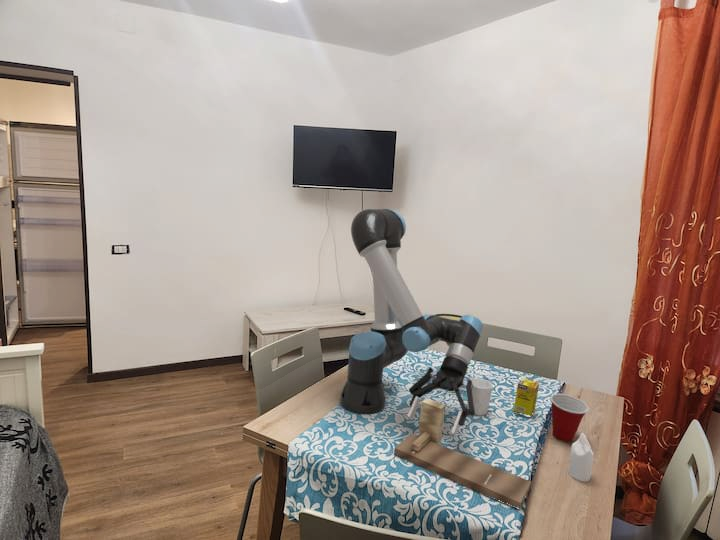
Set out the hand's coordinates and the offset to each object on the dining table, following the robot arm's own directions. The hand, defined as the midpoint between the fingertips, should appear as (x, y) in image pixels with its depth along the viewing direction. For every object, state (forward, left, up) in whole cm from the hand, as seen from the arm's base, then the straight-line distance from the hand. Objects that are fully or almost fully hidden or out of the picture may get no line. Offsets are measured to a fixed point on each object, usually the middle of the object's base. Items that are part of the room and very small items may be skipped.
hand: (430, 426), depth 129 cm
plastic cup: (+30, +33, -6) cm, 45 cm away
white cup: (+3, +31, -6) cm, 32 cm away
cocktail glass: (-14, +44, -6) cm, 46 cm away
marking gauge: (-1, -3, -6) cm, 6 cm away
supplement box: (+16, +41, -6) cm, 44 cm away
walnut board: (+11, -5, -6) cm, 14 cm away
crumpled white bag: (+37, +15, -6) cm, 41 cm away
